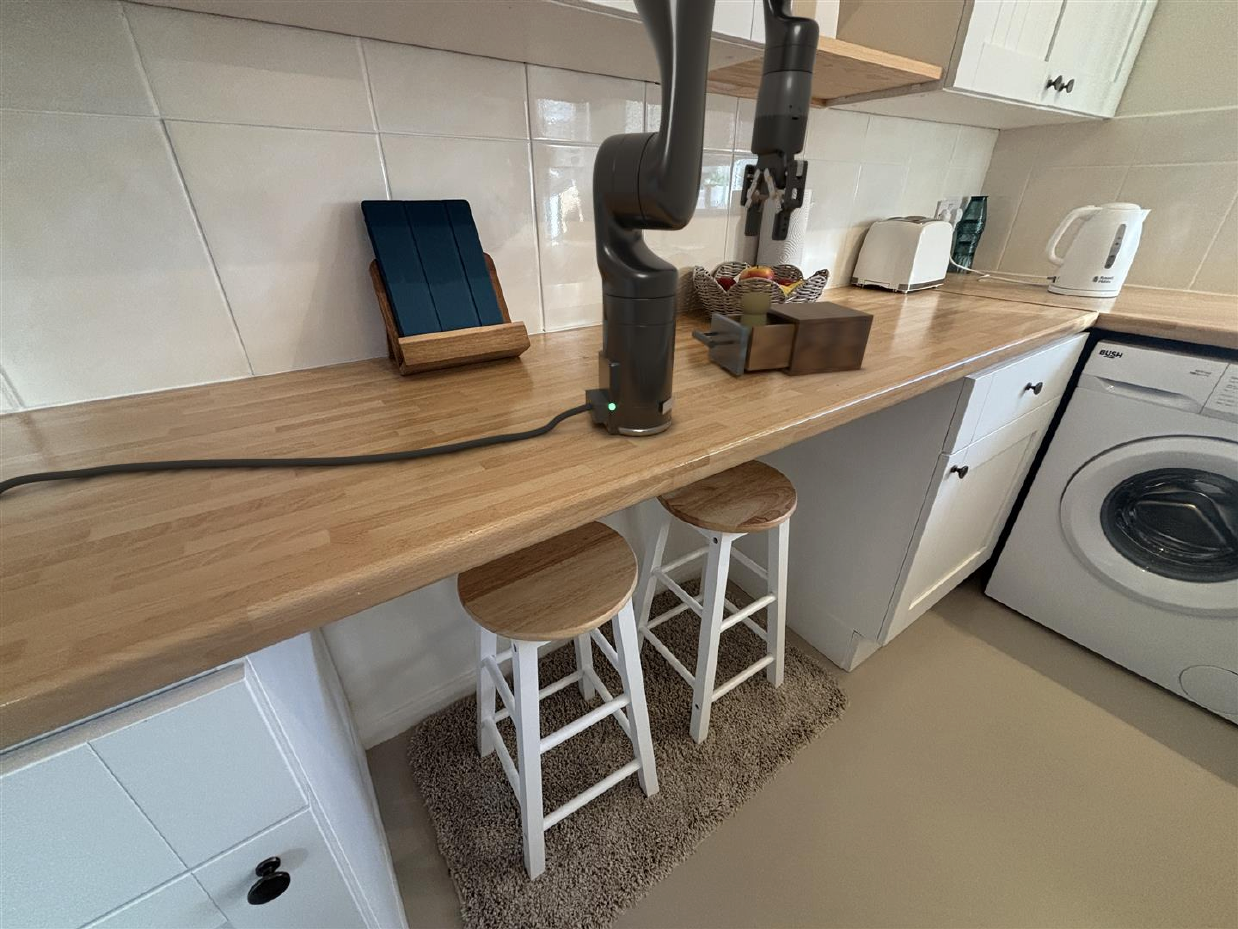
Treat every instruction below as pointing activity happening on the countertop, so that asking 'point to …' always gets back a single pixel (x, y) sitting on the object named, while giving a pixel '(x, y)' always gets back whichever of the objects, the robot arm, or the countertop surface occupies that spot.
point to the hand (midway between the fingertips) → (764, 238)
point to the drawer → (765, 342)
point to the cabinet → (825, 336)
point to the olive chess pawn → (754, 311)
